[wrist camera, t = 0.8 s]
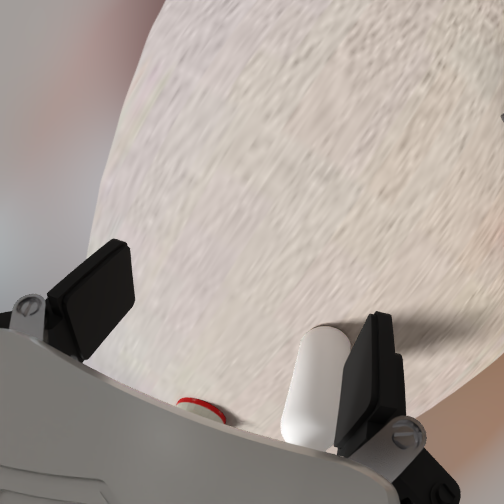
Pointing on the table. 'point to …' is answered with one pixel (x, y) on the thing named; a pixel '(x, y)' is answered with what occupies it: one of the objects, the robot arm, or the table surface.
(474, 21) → the table surface
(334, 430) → the alcohol
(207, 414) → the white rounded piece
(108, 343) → the table surface
